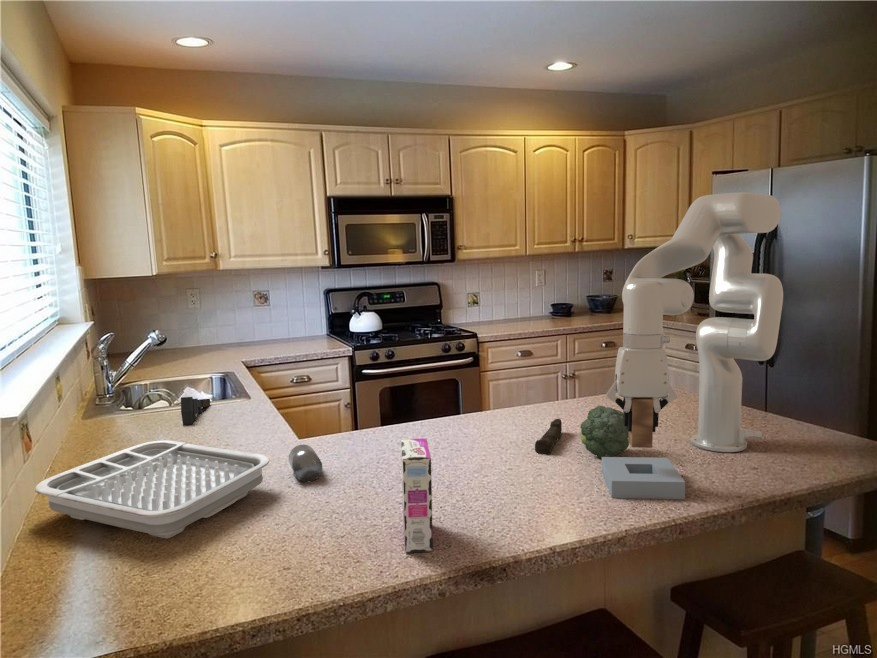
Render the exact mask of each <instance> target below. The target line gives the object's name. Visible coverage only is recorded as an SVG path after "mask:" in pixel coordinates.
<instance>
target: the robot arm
mask: <svg viewBox="0 0 877 658" xmlns="http://www.w3.org/2000/svg"><path fill="white" fill-rule="evenodd" d="M781 214H782V210H781V204H780V203H779V201H778V199H777V198H776V197H775V196H773V195H771V194H765V193H756V192H748V191H747V192H746V191H742V192H740V191H739V192H738V191H737V192H726V193H725V192H724V193H715V194H706V195H702V196H700V197H698V198H696V199H695V200H694V201H692V203H691V204H690V206H689V207H688V209H687V211H686V212H685V215H684V216H683V218H682V220H681V221H680V223H679V225H678V227H677V229H676V230H675V232H674V234H673V236H672V237H671V239H670V240H668V241H666V242H664V243H662V244H661V245H659V246H658V247H656V248H655V249H653V250H652V251H650V252H648V254H645V255H644V256H643V257H641V258H640V260H638V262H637V263H635V264H634V265H635V266H634V267H633V269H632V270H631V272H630V273H629V275H628V276H627V279H626V281H624V282H625V283H624V285H623V288H622V293H621V300H622V303H623V321H622V323H623V325H622V326H623V327H622V328H623V331H622V332H623V333H622V334H623V335H622V346H620V347H618V350H617V354H616V361H615V369H614V370H615V371H614V382H613V383H612V384H611V386H610V387H609V389H608V391H607V392H606V394H605V396H606V398H607V399H609V400H610V401H612V402H614V403H615V404H616V405H618V406H619V408H621V409H622V410H623V411H622V412H623V425H624V426H626V429H627V430H628V432H631V431H632V413H631V409H630V407H631V403H632V398H652V399H653V400H654V401H653V433H656V428H659V413H661V411H662V409H664V408H665V407H666V406H667V405H668V404H670V403H671V402H674V401H675V400H676V399H677V398H678V395H677V394H676V392H675V390H674V389H673V387H672V386H671V385H670V381H669V379H670V378H669V367H668V358H667V352H666V348H664V345H665V344H668V343H670V336H667V335H665V334H664V333H663V328H664V327H663V326H664V325H663V321H664V320H663V319H664V315H666V316H679V315H682V314H684V313H686V312H687V311H688V310H690V308H691V307H692V306H693V303H694V299H695V293H694V290H693V287H692V286H691V284H690V283H688V282H687V281H686V280H683V279H681V278H680V279H679V278H668V277H667V278H664V277H665V276H667V275H670V274H673V273H676V272H679V271H682V270H686V269H689V268H692V267H694V266H697V265H699V264H702V263H703V262H704V261H705V260H707V258H708V257H709V255H710V254H711V251H712V250H713V255H714V257H713V265H712V266H713V267H712V274H711V279H710V285H709V294H708V296H709V297H708V300H709V305H710V307H711V308H712V309H713V310H715V311H718V312H721V313H732V314H734V313H735V314H748V315H754V317H753V318H754V319H751V318H750V319H749V318H739V317H723V316H721V317H720V316H718V317H717V316H715V317H714V316H713V317H708V318H706V319H704V320H701V322H700V323H699V324H698V326H697V327H696V332H695V341H696V342H695V343H696V346H697V351H698V361H699V362H698V363H699V365H698V366H699V374H698V375H699V376H698V377H699V378H698V379H699V380H698V381H699V382H698V383H699V384H698V412H697V413H698V419H697V420H698V423H697V433H696V434H695V433H694V434H693V435H691V438H690V442H691V444H692V445H693V446H695V447H696V448H699V449H702V450H706V451H712V452H718V453H735V452H736V453H737V452H741V451H745V450H746V449H747V448H748V441H749V439H753V440H762V439H763V434H762V431H761V430H753V429H751V428H750V429H748V428H747V429H745V428H743V427H742V425H741V424H742V423H741V421H742V396H743V394H742V392H743V391H742V390H743V374H742V371H741V369H740V367H739V365H738V364H737V362H736V361H735V359H739V360H747V361H755V362H757V361H758V362H764V361H768V360H770V359H771V358H772V357H773V356H774V355H775V352H776V348H777V344H778V339H779V333H780V332H779V331H780V325H781V317H782V311H783V303H784V288H783V284H782V281H781V280H780V279H779V277H777V276H776V275H774V274H770V273H752V269H753V268H752V267H753V261H754V253H753V250H752V248H751V246H750V245H749V243H748V242H747V241H746V240H745V239H744V237H743V236H742V235H741V234H765V233H770V232H772V231H773V230H775V228H777V226H778V224H779V223H780V220H781ZM616 393H617V395H618V396H617V395H616ZM621 397H622V398H623V399H622V398H621Z"/></svg>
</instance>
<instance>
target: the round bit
mask: <svg viewBox="0 0 877 658" xmlns="http://www.w3.org/2000/svg"><path fill="white" fill-rule="evenodd" d="M288 463H289V465H290V468H291V469H292V471H293V473H294V476H295V478H297V480H299V481H301V482H303V483H309V482H308V481H310V482H313V481H316V480H317V479H318V478H319V477H320V476H321V473H322V471H323V463H322V461H321V459H320V457H319V456H318V455H317V453H316V451H315V450H314V448H313V447H312V446H310V445H308V444H299V445H295V446H294V447H293V448H292V449H291V450H290V452H289V454H288Z"/></svg>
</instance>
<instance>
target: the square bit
mask: <svg viewBox="0 0 877 658" xmlns="http://www.w3.org/2000/svg"><path fill="white" fill-rule="evenodd" d="M653 401H654V400H653V399H652V398H632V403H631V407H630V409H631V413H632V431H631V432H629V433H628V442H629V446H630V447H631V448H642V449H643V448H644V449H645V448H646V449H648V448H649V449H652V448H653V433H654V432H653Z"/></svg>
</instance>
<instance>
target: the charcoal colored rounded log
mask: <svg viewBox="0 0 877 658" xmlns="http://www.w3.org/2000/svg"><path fill="white" fill-rule="evenodd" d="M549 424H550V426H549V428H548V429H547V430H546V431H545V432H544V434H543V435H542V436H541V438H540V439H539V440H538V439H537V440H535V444H534V451H535V453H536V454H537V453H538V455H543V454H546V455H545V456H547V455H550V453H551V451H552V448H553V447H554V446H555V444H556V442H557V441H558V440H560V439H561V438H562V430H563V428H562V425H563V423H562V420H561V418H555V419H553V421H551V422H550V423H549ZM560 437H561V438H560Z"/></svg>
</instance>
